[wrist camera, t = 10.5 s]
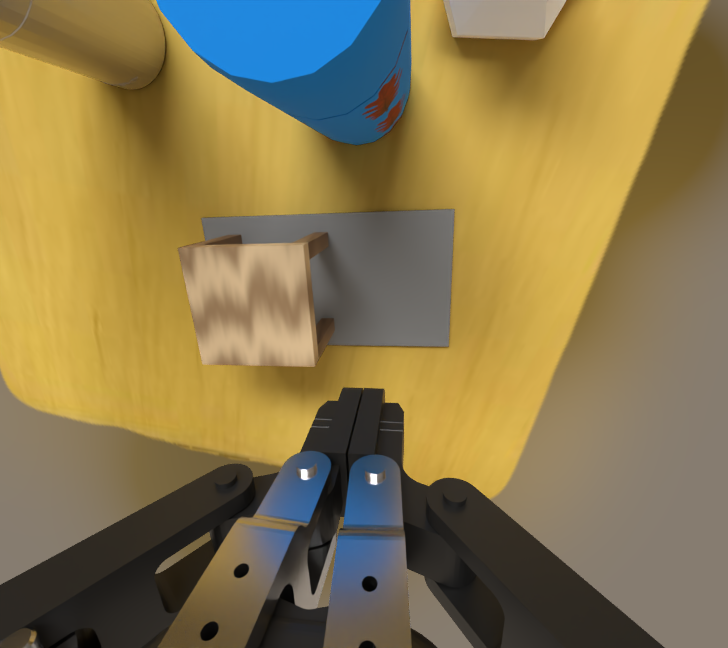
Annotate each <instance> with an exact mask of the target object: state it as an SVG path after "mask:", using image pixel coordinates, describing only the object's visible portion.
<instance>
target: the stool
mask: <svg viewBox="0 0 728 648" xmlns="http://www.w3.org/2000/svg"><path fill="white" fill-rule="evenodd" d="M328 246H329V243H328V232H314V233H312V234H310V235H307V236H305V237H303V238H301V239H299V240H297V241H294V242H292V243H268V244H242V237H241V235H226V236H222V237H218V238H214V239H210V240H207V241H203V242H199V243H195V244H191V245H187V246H184V247H180V248H178V251H179V256H180V261H181V266H182V270H183V275H184V280H185V284H186V289H187V294H188V298H189V303H190V308H191V312H192V317H193V322H194V326H195V331H196V336H197V341H198V345H199V350H200V355H201V359H202V364H207V365H254V366H301V367H315V366H316V364H317V362H318V360H319V358H320V357H321V355H322V353H323V351H324V349H325V347H326V346H327V344H328V342H329V340H330V338H331V336H332V335H333V333H334V331H335V326H334V318H321V319H320V321H319V322H318V324H317V325H316V324H315V313H314V302H313V291H312V281H311V270H310V259H311V258H313V257H314V256H316V255H317V254H318V253H320V252H321V251H323V250H324V249H326V248H327V247H328Z"/></svg>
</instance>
